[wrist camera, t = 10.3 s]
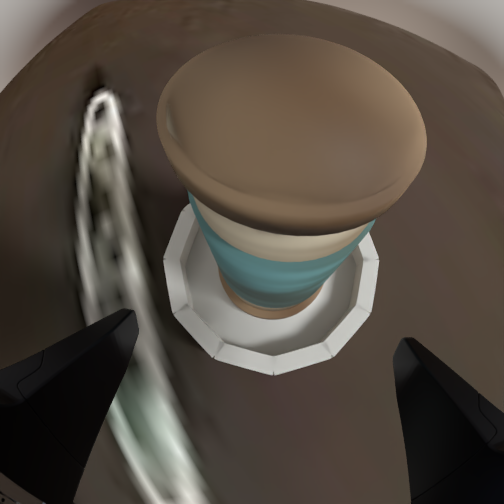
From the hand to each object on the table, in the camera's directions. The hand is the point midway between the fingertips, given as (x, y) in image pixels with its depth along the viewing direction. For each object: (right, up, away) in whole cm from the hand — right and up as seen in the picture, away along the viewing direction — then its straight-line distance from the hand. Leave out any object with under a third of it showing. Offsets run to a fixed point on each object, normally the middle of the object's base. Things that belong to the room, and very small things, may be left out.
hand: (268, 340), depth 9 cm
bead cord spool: (+1, +2, +9) cm, 9 cm away
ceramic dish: (+1, +2, +10) cm, 10 cm away
